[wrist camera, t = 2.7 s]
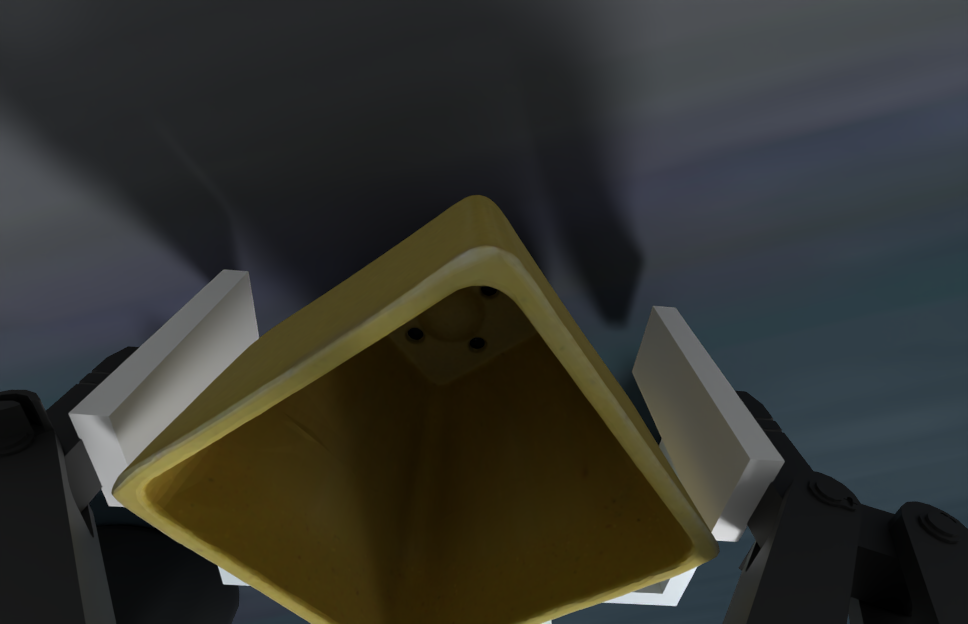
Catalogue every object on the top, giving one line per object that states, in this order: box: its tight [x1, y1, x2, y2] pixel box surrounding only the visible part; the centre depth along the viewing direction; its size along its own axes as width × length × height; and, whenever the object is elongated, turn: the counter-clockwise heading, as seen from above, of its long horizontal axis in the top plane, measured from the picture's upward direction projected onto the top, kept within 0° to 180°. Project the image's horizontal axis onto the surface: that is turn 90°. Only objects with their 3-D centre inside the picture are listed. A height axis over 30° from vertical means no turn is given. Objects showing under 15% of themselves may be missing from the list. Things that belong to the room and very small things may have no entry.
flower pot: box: [111, 195, 720, 624], centre depth 13 cm, size 9×9×9 cm
